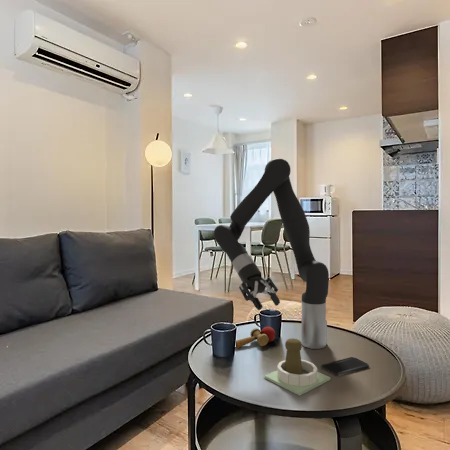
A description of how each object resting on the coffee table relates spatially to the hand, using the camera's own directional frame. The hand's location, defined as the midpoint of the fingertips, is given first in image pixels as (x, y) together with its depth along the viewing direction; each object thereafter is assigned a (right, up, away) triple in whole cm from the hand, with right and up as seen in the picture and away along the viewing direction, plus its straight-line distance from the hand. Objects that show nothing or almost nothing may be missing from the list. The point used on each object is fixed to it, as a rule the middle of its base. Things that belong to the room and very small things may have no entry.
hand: (269, 306), depth 120 cm
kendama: (-3, -20, +20) cm, 29 cm away
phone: (+25, -21, -1) cm, 33 cm away
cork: (+7, -20, -7) cm, 22 cm away
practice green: (+8, -21, -9) cm, 24 cm away
